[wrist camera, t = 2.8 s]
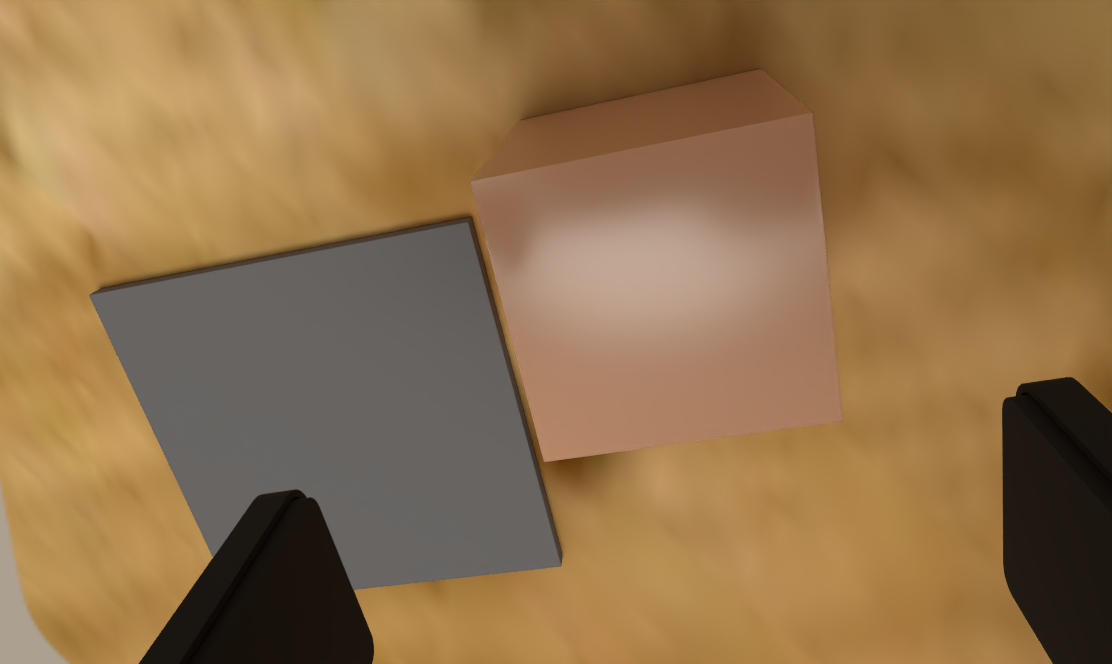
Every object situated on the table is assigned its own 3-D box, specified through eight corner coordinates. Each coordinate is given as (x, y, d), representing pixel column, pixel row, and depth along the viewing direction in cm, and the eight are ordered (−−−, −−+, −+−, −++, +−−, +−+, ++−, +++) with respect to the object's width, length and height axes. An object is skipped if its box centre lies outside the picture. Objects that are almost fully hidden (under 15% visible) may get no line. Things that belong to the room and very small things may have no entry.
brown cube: (761, 68, 24) (812, 112, 17) (788, 298, 27) (842, 421, 20) (519, 120, 25) (469, 181, 18) (569, 334, 28) (544, 462, 21)
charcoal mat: (471, 217, 27) (467, 222, 26) (562, 556, 32) (561, 566, 32) (99, 289, 29) (89, 295, 29) (241, 593, 34) (234, 603, 34)
